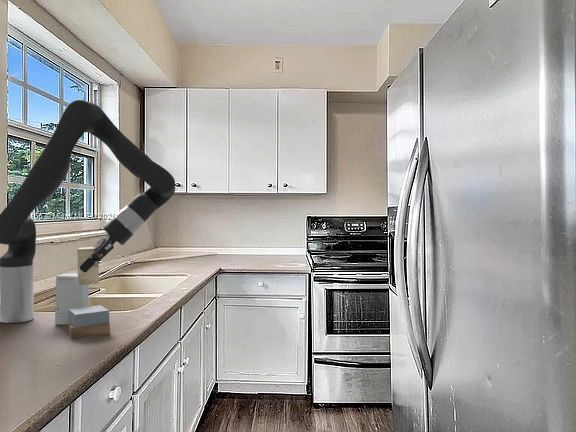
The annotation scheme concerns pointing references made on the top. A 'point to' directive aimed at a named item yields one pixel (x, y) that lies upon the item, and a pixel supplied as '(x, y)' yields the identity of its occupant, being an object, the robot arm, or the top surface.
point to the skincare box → (69, 296)
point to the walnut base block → (88, 330)
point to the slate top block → (88, 316)
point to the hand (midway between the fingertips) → (81, 269)
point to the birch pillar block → (93, 272)
